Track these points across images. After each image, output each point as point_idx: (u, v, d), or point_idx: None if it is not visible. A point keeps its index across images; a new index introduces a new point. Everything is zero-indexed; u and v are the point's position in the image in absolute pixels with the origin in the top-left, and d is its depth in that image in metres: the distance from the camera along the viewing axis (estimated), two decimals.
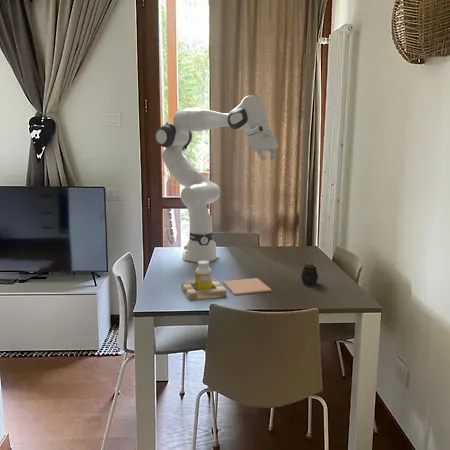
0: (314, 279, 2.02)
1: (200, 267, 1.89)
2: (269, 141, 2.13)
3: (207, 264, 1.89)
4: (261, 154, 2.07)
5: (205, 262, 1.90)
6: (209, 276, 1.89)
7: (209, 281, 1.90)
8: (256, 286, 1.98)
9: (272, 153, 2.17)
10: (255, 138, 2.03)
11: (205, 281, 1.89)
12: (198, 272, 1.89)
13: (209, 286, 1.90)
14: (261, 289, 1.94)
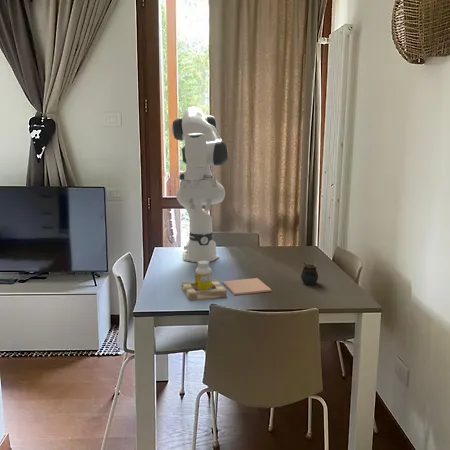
0: (314, 279, 2.02)
1: (200, 267, 1.89)
2: (198, 190, 1.82)
3: (207, 264, 1.89)
4: None
5: (205, 262, 1.90)
6: (209, 276, 1.89)
7: (209, 281, 1.90)
8: (256, 286, 1.98)
9: None
10: None
11: (205, 281, 1.89)
12: (198, 272, 1.89)
13: (209, 286, 1.90)
14: (261, 289, 1.94)
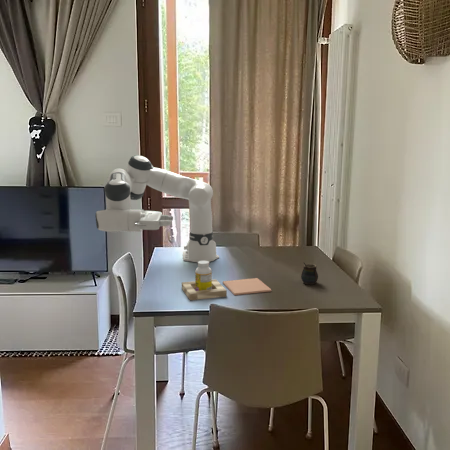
0: (314, 279, 2.02)
1: (200, 267, 1.89)
2: None
3: (207, 264, 1.89)
4: None
5: (205, 262, 1.90)
6: (209, 276, 1.89)
7: (209, 281, 1.90)
8: (256, 286, 1.98)
9: None
10: None
11: (205, 281, 1.89)
12: (198, 272, 1.89)
13: (209, 286, 1.90)
14: (261, 289, 1.94)
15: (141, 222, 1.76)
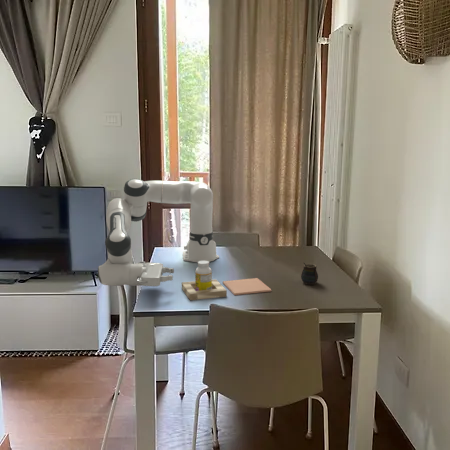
0: (314, 279, 2.02)
1: (200, 267, 1.89)
2: None
3: (207, 264, 1.89)
4: None
5: (205, 262, 1.90)
6: (209, 276, 1.89)
7: (209, 281, 1.90)
8: (256, 286, 1.98)
9: None
10: None
11: (205, 281, 1.89)
12: (198, 272, 1.89)
13: (209, 286, 1.90)
14: (261, 289, 1.94)
15: (143, 279, 1.81)
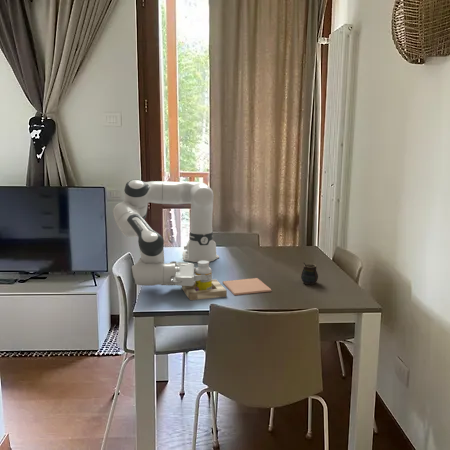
0: (314, 279, 2.02)
1: (200, 267, 1.89)
2: None
3: (207, 264, 1.89)
4: None
5: (205, 262, 1.90)
6: (209, 276, 1.89)
7: (209, 281, 1.90)
8: (256, 286, 1.98)
9: None
10: None
11: (205, 281, 1.89)
12: (198, 272, 1.89)
13: (209, 286, 1.90)
14: (261, 289, 1.94)
15: (177, 278, 1.82)
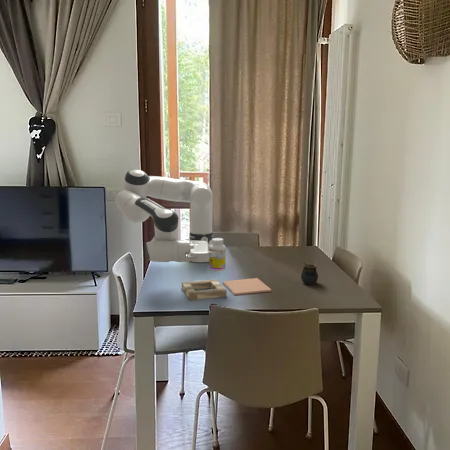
0: (314, 279, 2.02)
1: (214, 244, 1.89)
2: None
3: (221, 241, 1.89)
4: None
5: (219, 239, 1.90)
6: (223, 253, 1.90)
7: (223, 258, 1.90)
8: (256, 286, 1.98)
9: None
10: None
11: (219, 258, 1.89)
12: (212, 249, 1.89)
13: (223, 263, 1.91)
14: (261, 289, 1.94)
15: (192, 254, 1.82)
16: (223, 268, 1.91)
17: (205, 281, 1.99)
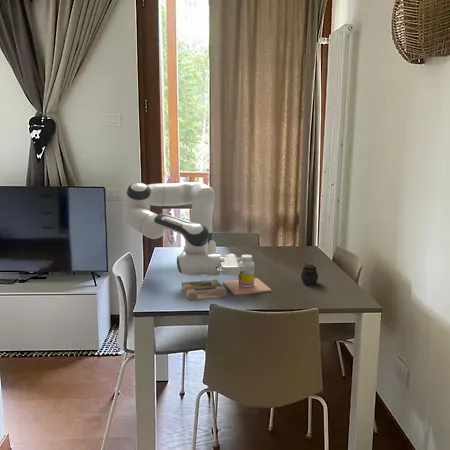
0: (314, 279, 2.02)
1: (244, 261, 1.95)
2: None
3: (251, 258, 1.95)
4: None
5: (248, 256, 1.96)
6: (252, 269, 1.96)
7: (252, 274, 1.96)
8: (256, 286, 1.98)
9: None
10: None
11: (249, 274, 1.95)
12: (242, 265, 1.95)
13: (252, 279, 1.97)
14: (261, 289, 1.94)
15: (223, 268, 1.88)
16: (252, 284, 1.97)
17: (205, 281, 1.99)
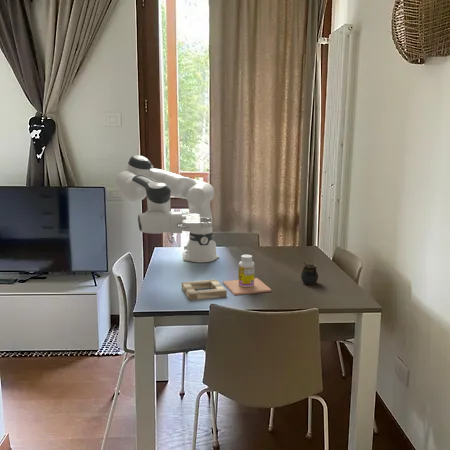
0: (314, 279, 2.02)
1: (244, 261, 1.95)
2: None
3: (250, 258, 1.95)
4: None
5: (248, 256, 1.96)
6: (252, 269, 1.96)
7: (252, 274, 1.96)
8: (256, 286, 1.98)
9: None
10: None
11: (249, 274, 1.95)
12: (242, 265, 1.95)
13: (252, 279, 1.97)
14: (261, 289, 1.94)
15: (184, 224, 1.83)
16: (252, 284, 1.97)
17: (205, 281, 1.99)
